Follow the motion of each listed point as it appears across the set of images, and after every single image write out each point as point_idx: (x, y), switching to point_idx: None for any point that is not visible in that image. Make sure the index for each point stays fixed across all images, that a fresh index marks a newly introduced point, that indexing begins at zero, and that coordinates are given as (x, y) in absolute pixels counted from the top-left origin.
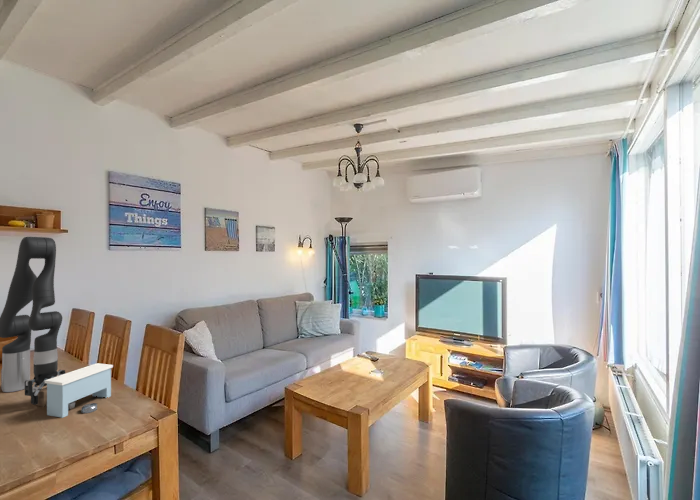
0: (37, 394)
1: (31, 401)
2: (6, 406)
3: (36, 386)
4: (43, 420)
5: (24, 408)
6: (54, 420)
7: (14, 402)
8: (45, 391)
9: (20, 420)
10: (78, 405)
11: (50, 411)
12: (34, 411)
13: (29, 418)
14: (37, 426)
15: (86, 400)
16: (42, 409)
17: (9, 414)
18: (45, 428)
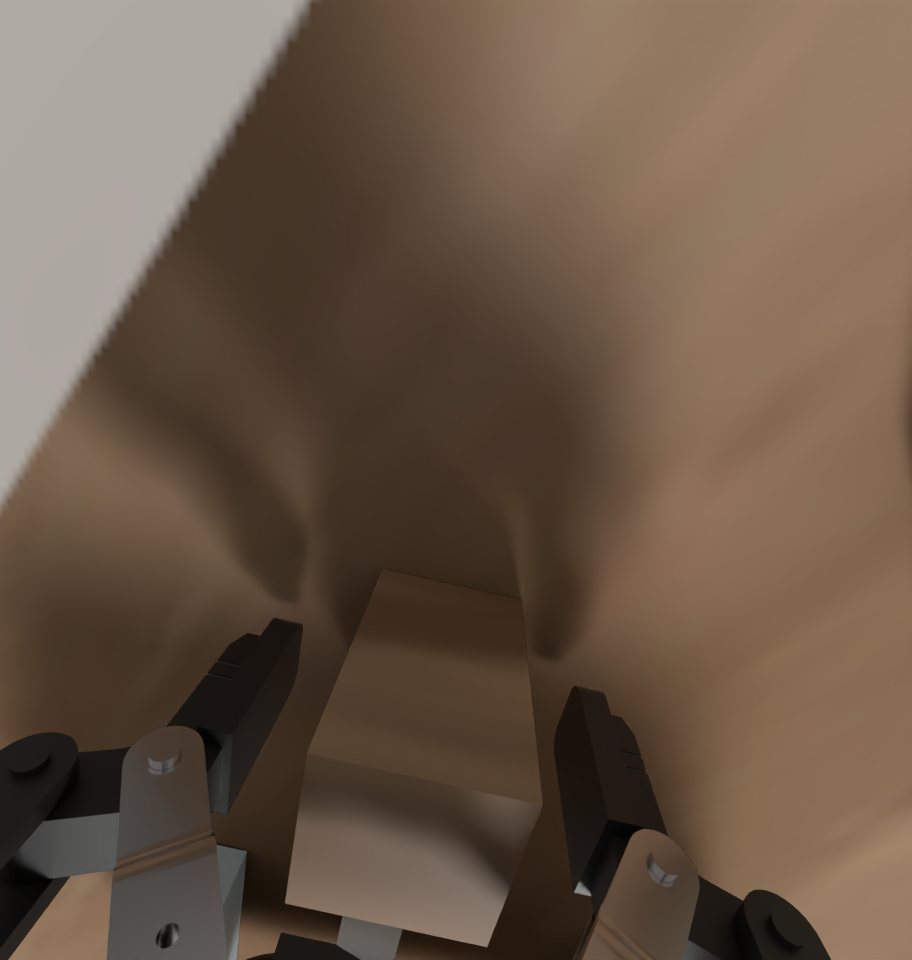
0: (333, 700)
1: (220, 666)
2: (276, 81)
3: (187, 934)
4: (107, 875)
5: (272, 488)
6: None
7: (453, 48)
8: (311, 907)
9: (32, 704)
10: (427, 945)
11: None
12: None
13: (93, 749)
14: None
15: (546, 948)
16: (291, 718)
17: (83, 454)
18: (23, 956)
